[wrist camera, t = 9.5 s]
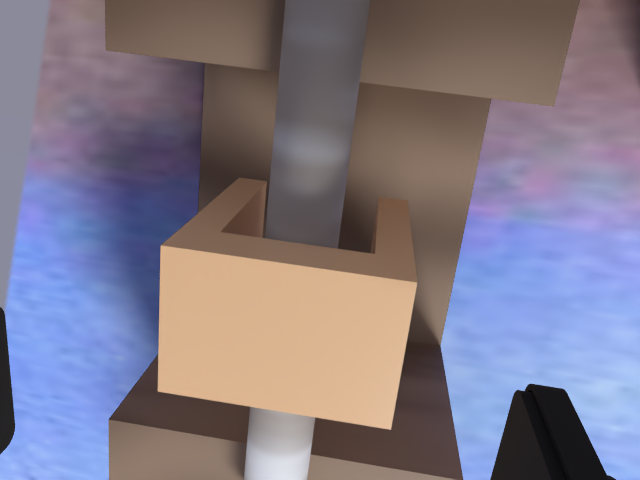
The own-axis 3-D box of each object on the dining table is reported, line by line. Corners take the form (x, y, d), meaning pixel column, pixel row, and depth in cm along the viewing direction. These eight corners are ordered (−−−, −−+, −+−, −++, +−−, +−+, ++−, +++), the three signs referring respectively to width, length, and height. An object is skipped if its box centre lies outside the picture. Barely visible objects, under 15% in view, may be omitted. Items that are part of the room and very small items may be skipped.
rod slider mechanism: (221, -136, 23) (55, -317, 11) (528, -105, 22) (676, -269, 11) (194, 415, 31) (83, 623, 20) (414, 453, 30) (429, 692, 19)
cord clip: (239, 177, 21) (160, 245, 13) (407, 200, 20) (417, 282, 13) (232, 280, 22) (157, 391, 15) (390, 303, 21) (390, 429, 14)
